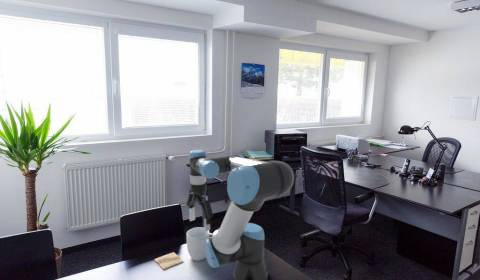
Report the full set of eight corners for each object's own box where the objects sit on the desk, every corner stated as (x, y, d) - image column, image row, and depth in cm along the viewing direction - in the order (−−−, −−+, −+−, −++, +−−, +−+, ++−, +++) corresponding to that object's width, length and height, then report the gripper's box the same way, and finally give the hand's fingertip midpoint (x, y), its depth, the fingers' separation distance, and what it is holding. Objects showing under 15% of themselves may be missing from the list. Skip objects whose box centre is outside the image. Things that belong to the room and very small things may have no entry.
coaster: (183, 262, 142) (183, 260, 142) (163, 270, 136) (163, 268, 136) (173, 253, 150) (173, 251, 150) (154, 260, 144) (154, 259, 144)
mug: (208, 246, 157) (208, 222, 154) (220, 255, 148) (220, 230, 146) (183, 256, 147) (182, 231, 145) (194, 266, 139) (193, 240, 137)
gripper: (220, 187, 133) (221, 232, 137) (191, 175, 152) (193, 214, 156) (206, 191, 129) (207, 237, 132) (178, 178, 148) (180, 218, 151)
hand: (199, 225), depth 144 cm, fingers open, 13 cm apart
